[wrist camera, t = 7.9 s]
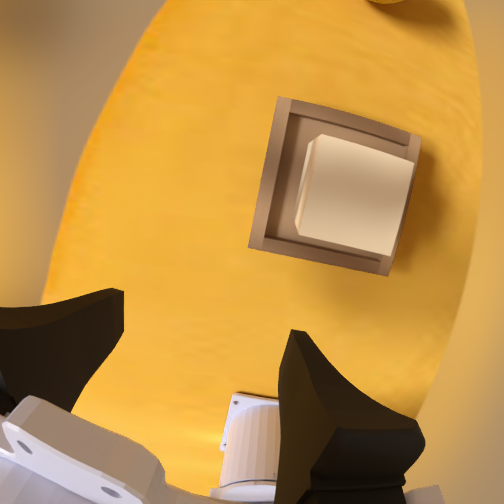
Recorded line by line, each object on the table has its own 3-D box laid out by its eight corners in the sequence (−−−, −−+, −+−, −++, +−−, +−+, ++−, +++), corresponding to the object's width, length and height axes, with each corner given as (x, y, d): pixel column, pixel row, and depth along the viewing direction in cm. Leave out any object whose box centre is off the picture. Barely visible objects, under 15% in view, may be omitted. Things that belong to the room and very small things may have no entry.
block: (362, 233, 18) (390, 256, 13) (292, 216, 18) (298, 234, 13) (379, 162, 17) (414, 163, 12) (308, 143, 17) (321, 134, 12)
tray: (373, 261, 21) (388, 276, 18) (251, 235, 21) (247, 247, 18) (401, 140, 18) (421, 137, 15) (277, 107, 18) (277, 96, 15)
